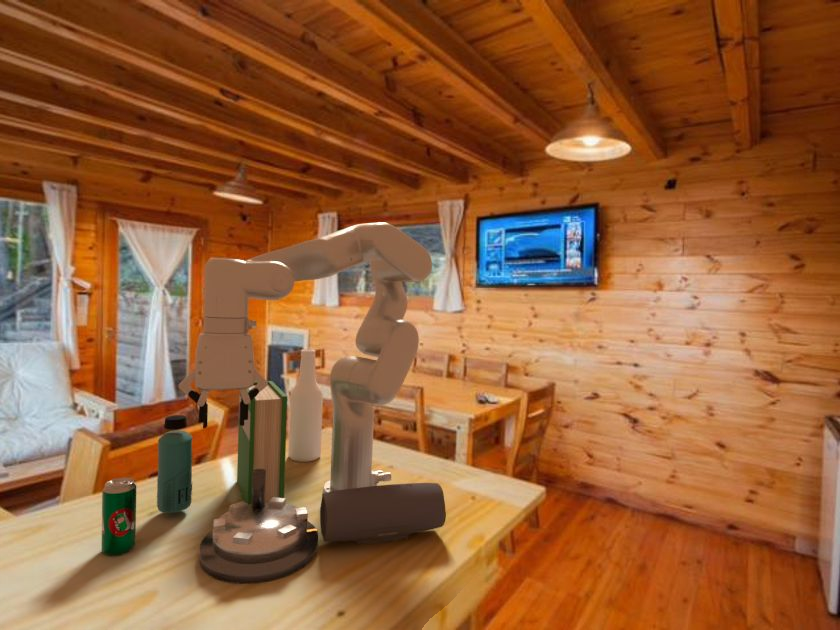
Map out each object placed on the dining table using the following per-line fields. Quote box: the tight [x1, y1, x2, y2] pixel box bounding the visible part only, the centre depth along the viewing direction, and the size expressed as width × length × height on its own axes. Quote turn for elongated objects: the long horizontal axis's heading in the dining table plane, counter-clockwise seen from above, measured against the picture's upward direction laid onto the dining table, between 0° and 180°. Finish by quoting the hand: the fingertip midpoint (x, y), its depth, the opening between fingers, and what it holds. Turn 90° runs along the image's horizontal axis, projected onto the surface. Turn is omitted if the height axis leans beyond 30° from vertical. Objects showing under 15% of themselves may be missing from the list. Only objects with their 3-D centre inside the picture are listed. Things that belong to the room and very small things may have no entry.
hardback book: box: [236, 380, 288, 505], centre depth 110 cm, size 18×7×24 cm, turn 27°
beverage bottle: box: [156, 414, 194, 514], centre depth 99 cm, size 6×7×20 cm
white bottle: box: [287, 348, 324, 463], centre depth 135 cm, size 9×9×30 cm
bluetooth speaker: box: [319, 482, 447, 545], centre depth 93 cm, size 23×9×10 cm, turn 109°
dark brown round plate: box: [198, 520, 319, 585], centre depth 87 cm, size 20×20×2 cm
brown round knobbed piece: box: [212, 469, 309, 563], centre depth 87 cm, size 16×16×10 cm
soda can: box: [100, 477, 137, 557], centre depth 85 cm, size 5×5×12 cm
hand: (223, 424), depth 90 cm, fingers open, 5 cm apart
